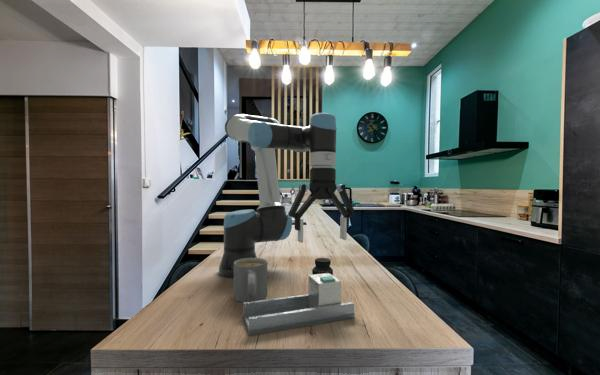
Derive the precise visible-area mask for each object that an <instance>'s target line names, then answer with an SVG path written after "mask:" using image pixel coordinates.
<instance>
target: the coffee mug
mask: <svg viewBox="0 0 600 375" xmlns="http://www.w3.org/2000/svg"><path fill="white" fill-rule="evenodd" d="M267 297H268V260H267V259H265V258H261V257H260V258H259V257H257V258H244V259H239V260H236V261H235V262H234V277H233V298H234V300H235V301H238V302H240V303H241V302H243V303H244V302H251V301H259V300H265V298H267Z"/></svg>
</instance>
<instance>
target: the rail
mask: <svg viewBox="0 0 600 375" xmlns="http://www.w3.org/2000/svg"><path fill="white" fill-rule="evenodd" d="M242 317H243V320H244V323H245V324H244V325H245V326H246V329H247V332H248V336H249V337H251V336H256V335H263V334H267V333H274V332H279V331H286V330H291V329H297V328H303V327H304V328H305V327H309V326H315V325H322V324H326V323H334V322H339V321H344V320H350V319H351V320H352V319H355V303H354V302H353V301H350V302H349V301H348V302H343V303H342V281H341V280H340V279H339V278H337V277H336V276H334V274H333V275H331V274H330V273H325V274H315V275H312V274H308V292H307V294H305V293H304V294H299V295H291V296H283V297H277V298H276V297H274V298H269V299H267V298H266V299H262V300H259V301H251V302H243V303H242Z"/></svg>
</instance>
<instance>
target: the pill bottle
mask: <svg viewBox="0 0 600 375" xmlns="http://www.w3.org/2000/svg"><path fill="white" fill-rule="evenodd" d="M331 260H332V259H330V258H327V257H318V258H315V259H314V264H315V266H313V268H312V272H311V273H312V274H311V275H315V274H325V273H330V274H331V275H333V276H334V269H333V268H332V267H331V262H332V261H331Z"/></svg>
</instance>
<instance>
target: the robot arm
mask: <svg viewBox="0 0 600 375" xmlns="http://www.w3.org/2000/svg"><path fill="white" fill-rule="evenodd" d="M224 132H225V134H226V135H227V137H229V138H230V139H231V140H234V141H237V142H241V143H249V144H250V148H251V150H252V151H254V154H255V165H256V166H255V167H256V176H257V179H256V180H257V188H258V198H259V206H258V207H257V208H256V210H255V209H252V208H251V209H239V210H235V211H231V212H228V213H226V214H225V216H224V217H223V226H222V227H223V253H222V254H223V255H222V257H221V260H220V262H219V267H218V274H219V275H220V276H222V277H225V278H234V262H235V261H236V260H239V259H244V258H258V256H257V253H256V244H257V243H266V242H278V241H283V240H286V239H287V238H289V236H290V235H291V232H292V228H293V219H294V230H296V231H297V241H298V242H299V243H300V244H301V243H304V219H303V218H302V217H303V216H304V215H305V213H306V212H307V211H308V210H309V208H310V207H311V206H312V204H313V203H314V202H315V201H317V200H318V201H321V200H326V201H327V200H330V201H331V203H332V204H333V205H334V206H335V208H336V209H337V210H338V212H339V213H340V214H341V215H342V216H339V218H340V219H339V224H340V225H339V227H340V228H339V239H341V240H344V241H346V240H347V237H348V236H347V230H348V229H349V227H350V218H351V217H352V216H355V215H356V212H355V209H354V207H353V204H352V202H351V200H350V197H349V196H348V193H347V186H346V185H345V184H344V183H343V184H341V183H339V184H337V185H336V180H337V178H336V177H337V175H336V174H337V169H336V168H335V167H336V165H337V163H336V162H337V154H336V150H337V120H336V116H335V115H334V114H332V113H328V112H317V113H314V114H312V115H311V116H310V121H309V125H308V126H297V125H288V124H280V122H279V121H278V120H277V119H276V118H273V117H269V116H260V115H251V114H245V113H238V114H233V115H231V116H230V117H229V118H227V120H226V121H225V124H224ZM275 150H286V151H294V152H295V153H296V152H297V153H306V152H309V166H310V167H311V168H310V169H309V184H305V183H300V184H299V186H298V192H297V195H296V196H295V198H294V200H293V203H292V204H291V207H290V208H289V211H286V206H285V205H284V204H283V203H282V202H281V195H280V194H281V193H280V185H279V176H278V168H277V159H276V151H275ZM308 191H309V192H310V194H309V195H308V197H307V199H306V200H305V201H304V203H302V201H303V198H304V197H305V194H306V193H307V192H308ZM336 191H337V192H338V194H339V196H340V199H341V201H342V203H343V204H342V203H341V201H340V200H339V198H338V196H337V195H336V194H335V193H336ZM301 203H302V205H301ZM300 205H301V206H300Z"/></svg>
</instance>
